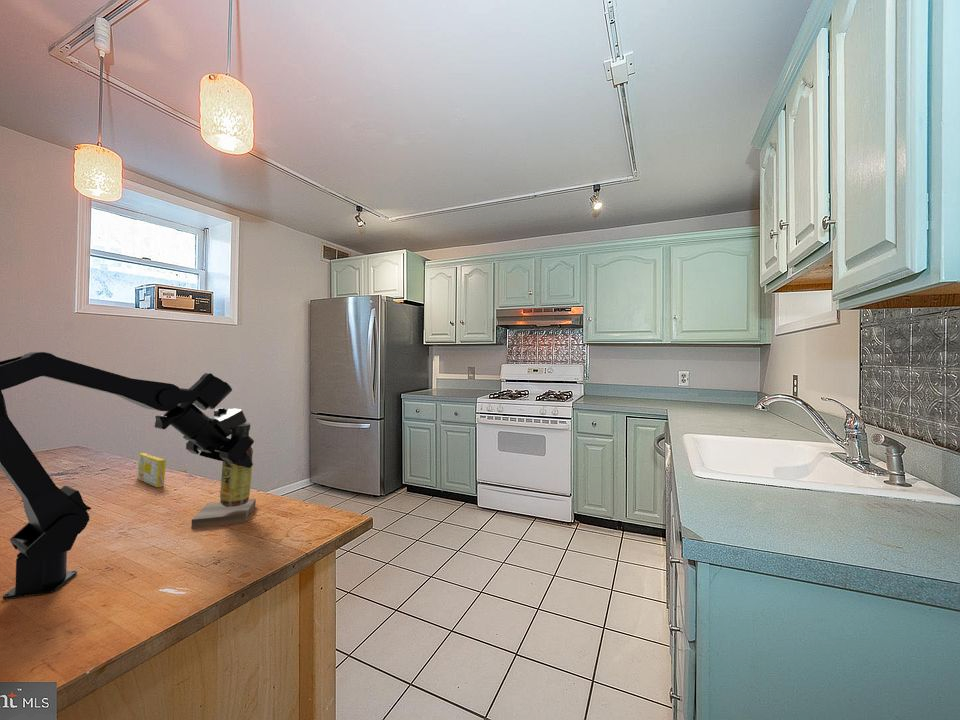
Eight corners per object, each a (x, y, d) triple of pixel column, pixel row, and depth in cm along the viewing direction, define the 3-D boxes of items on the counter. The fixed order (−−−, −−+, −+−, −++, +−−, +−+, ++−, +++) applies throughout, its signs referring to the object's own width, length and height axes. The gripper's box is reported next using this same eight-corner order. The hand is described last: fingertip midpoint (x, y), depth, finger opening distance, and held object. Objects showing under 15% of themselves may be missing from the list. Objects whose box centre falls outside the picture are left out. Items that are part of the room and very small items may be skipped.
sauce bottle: (218, 500, 96) (223, 421, 96) (247, 496, 100) (252, 419, 100) (221, 510, 91) (226, 426, 91) (251, 505, 95) (257, 425, 95)
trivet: (245, 522, 94) (245, 514, 94) (191, 528, 90) (191, 519, 90) (255, 506, 104) (255, 498, 104) (207, 510, 101) (207, 503, 101)
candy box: (165, 486, 119) (166, 459, 119) (156, 488, 117) (157, 460, 117) (144, 477, 128) (145, 452, 128) (136, 479, 126) (137, 453, 126)
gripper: (246, 400, 88) (289, 442, 97) (201, 395, 97) (245, 434, 106) (207, 441, 81) (257, 481, 90) (162, 432, 90) (213, 469, 99)
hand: (243, 464), depth 97 cm, fingers closed on sauce bottle, 6 cm apart
